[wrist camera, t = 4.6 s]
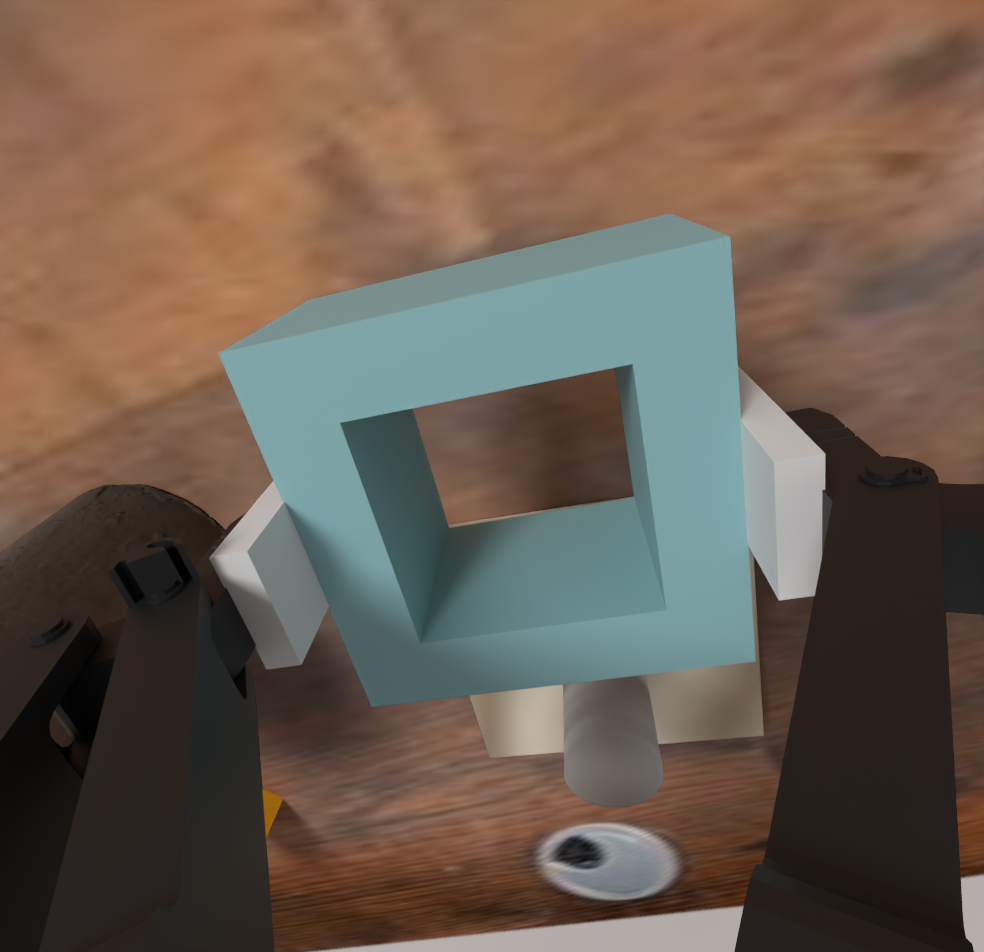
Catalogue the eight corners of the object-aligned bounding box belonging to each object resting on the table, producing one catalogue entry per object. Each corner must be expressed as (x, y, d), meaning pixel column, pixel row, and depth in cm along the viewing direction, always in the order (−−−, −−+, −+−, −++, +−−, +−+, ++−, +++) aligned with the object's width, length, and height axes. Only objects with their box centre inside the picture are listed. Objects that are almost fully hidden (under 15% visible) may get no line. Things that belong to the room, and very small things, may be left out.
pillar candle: (146, 446, 28) (-239, 711, 14) (291, 598, 31) (89, 931, 17) (19, 540, 31) (-394, 830, 17) (163, 669, 34) (-92, 998, 20)
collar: (410, 583, 19) (371, 707, 15) (309, 299, 16) (218, 352, 11) (702, 538, 18) (755, 661, 14) (670, 213, 14) (729, 236, 10)
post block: (491, 742, 34) (475, 895, 27) (422, 528, 28) (377, 652, 21) (757, 719, 31) (817, 881, 24) (743, 479, 26) (815, 600, 18)
